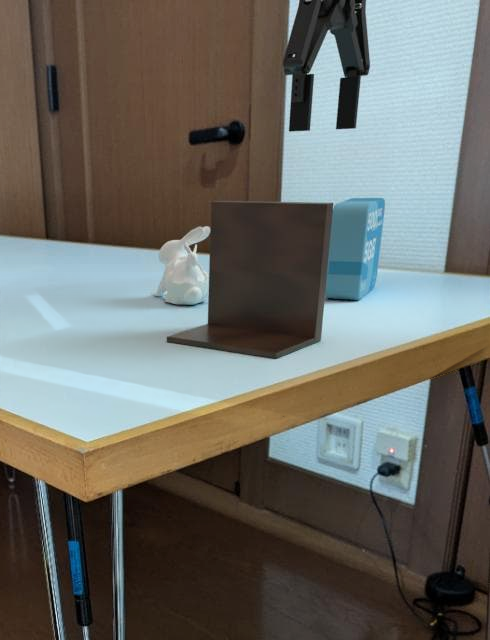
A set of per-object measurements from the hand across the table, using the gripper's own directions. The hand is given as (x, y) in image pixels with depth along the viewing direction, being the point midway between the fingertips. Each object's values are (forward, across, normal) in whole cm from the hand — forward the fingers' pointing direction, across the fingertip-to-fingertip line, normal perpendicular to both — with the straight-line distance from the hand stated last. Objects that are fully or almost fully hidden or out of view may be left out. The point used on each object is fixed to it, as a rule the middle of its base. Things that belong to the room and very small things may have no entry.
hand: (323, 130), depth 111 cm
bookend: (+21, +37, +11) cm, 44 cm away
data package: (+21, +5, +9) cm, 23 cm away
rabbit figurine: (+21, +20, -8) cm, 30 cm away
